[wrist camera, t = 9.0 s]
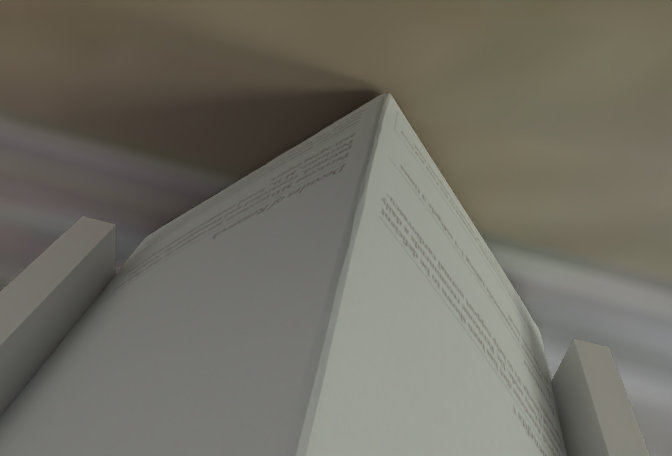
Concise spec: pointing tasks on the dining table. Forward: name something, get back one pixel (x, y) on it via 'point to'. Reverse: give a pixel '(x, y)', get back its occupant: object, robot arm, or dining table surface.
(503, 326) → the supplement box
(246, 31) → the dining table surface
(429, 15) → the dining table surface
